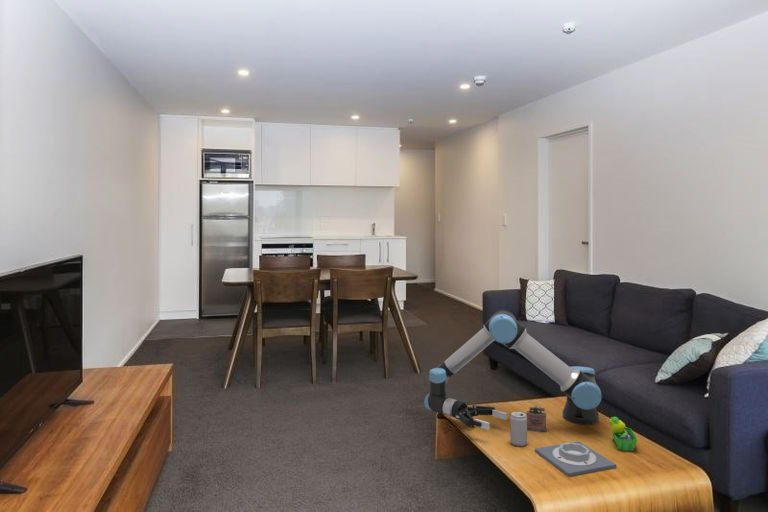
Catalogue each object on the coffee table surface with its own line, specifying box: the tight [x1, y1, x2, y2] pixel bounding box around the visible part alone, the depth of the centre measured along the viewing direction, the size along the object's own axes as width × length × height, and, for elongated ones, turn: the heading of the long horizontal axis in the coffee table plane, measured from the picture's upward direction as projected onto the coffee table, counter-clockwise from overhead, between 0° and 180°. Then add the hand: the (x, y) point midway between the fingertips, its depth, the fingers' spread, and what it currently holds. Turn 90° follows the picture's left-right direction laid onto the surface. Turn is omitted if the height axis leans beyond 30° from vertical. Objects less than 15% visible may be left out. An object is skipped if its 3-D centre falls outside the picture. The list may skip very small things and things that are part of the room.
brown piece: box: [526, 405, 547, 433], centre depth 205 cm, size 8×3×10 cm, turn 68°
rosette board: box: [534, 441, 617, 477], centre depth 178 cm, size 20×20×4 cm
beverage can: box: [509, 411, 528, 447], centre depth 192 cm, size 6×6×12 cm
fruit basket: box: [609, 416, 638, 452], centre depth 189 cm, size 11×9×11 cm
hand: (498, 421), depth 198 cm, fingers open, 13 cm apart
